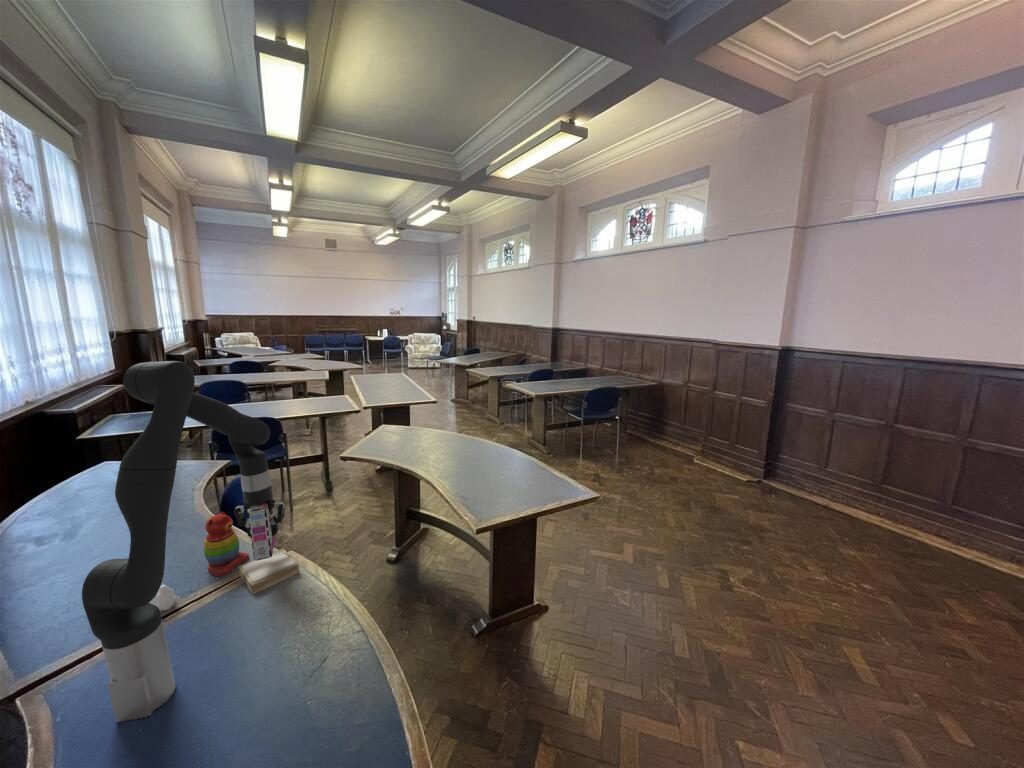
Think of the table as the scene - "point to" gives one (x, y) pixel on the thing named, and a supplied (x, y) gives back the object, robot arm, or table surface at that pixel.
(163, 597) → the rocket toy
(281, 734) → the table surface
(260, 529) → the candy bar box
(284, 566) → the tray
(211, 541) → the stacking bear
